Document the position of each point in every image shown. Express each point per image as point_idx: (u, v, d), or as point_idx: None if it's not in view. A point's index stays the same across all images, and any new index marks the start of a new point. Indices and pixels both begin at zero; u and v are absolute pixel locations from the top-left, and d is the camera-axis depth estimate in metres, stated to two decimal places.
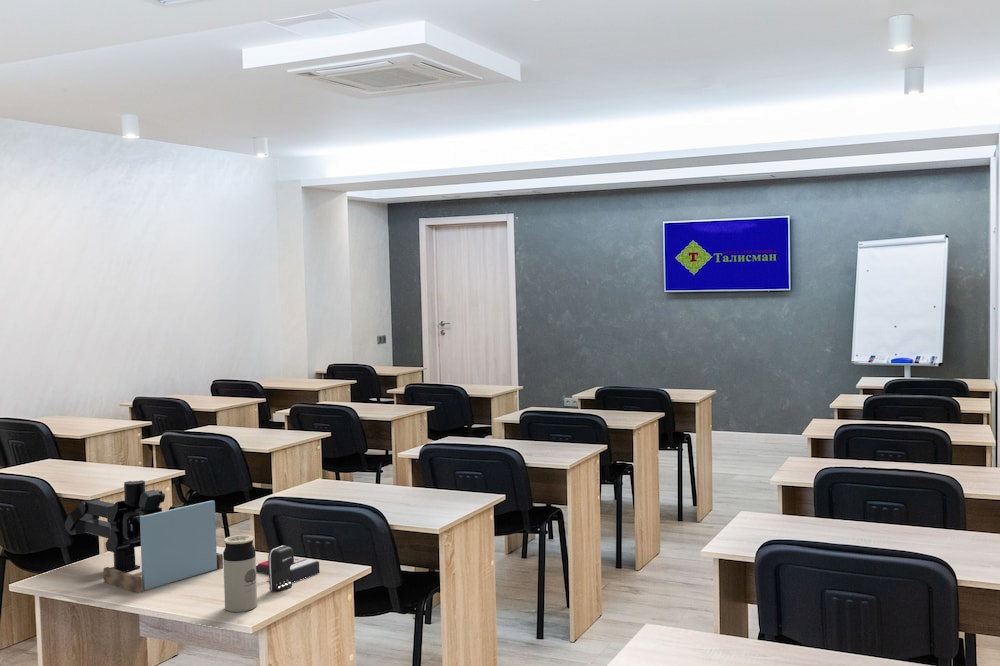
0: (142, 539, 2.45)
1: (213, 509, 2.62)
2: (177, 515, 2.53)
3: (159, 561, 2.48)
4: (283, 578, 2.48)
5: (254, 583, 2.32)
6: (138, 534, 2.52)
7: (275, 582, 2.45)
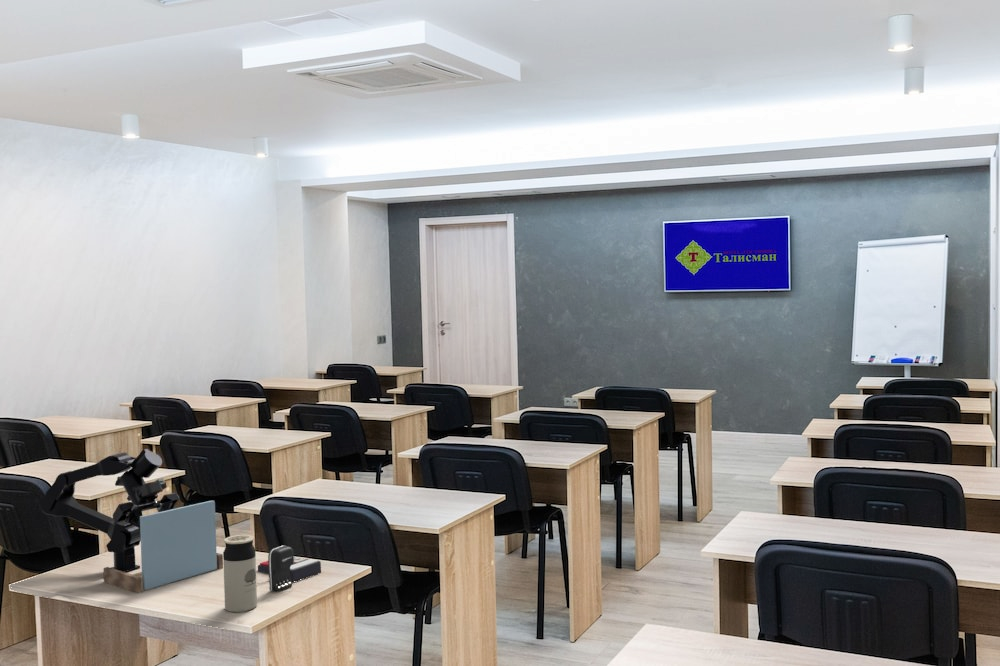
0: (142, 539, 2.45)
1: (213, 509, 2.62)
2: (177, 515, 2.53)
3: (159, 561, 2.48)
4: (283, 578, 2.48)
5: (254, 583, 2.32)
6: (131, 521, 2.59)
7: (275, 582, 2.45)
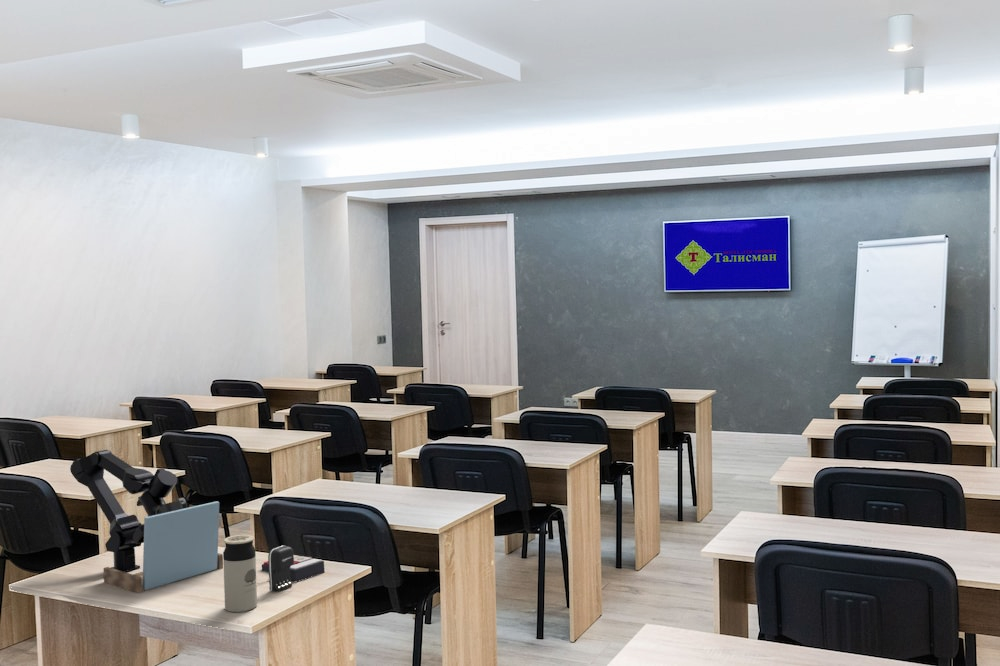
0: (145, 540, 2.44)
1: (217, 510, 2.61)
2: (181, 516, 2.52)
3: (161, 562, 2.48)
4: (283, 578, 2.48)
5: (254, 583, 2.32)
6: None
7: (275, 582, 2.45)
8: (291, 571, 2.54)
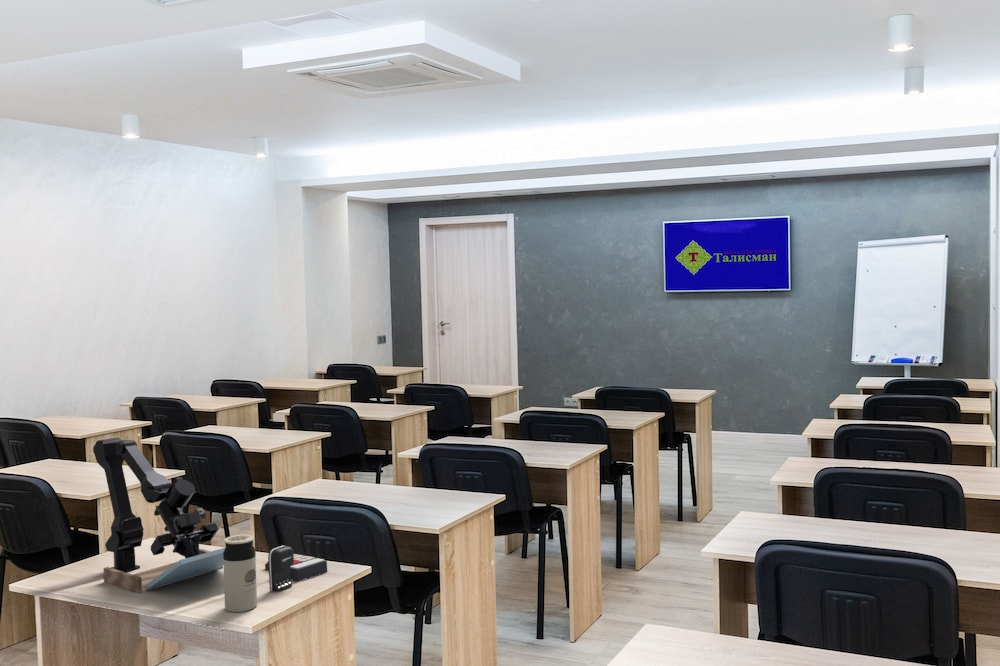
0: (169, 571, 2.38)
1: None
2: (213, 556, 2.44)
3: (172, 577, 2.45)
4: (283, 578, 2.48)
5: (254, 583, 2.32)
6: (178, 550, 2.51)
7: (275, 582, 2.45)
8: (293, 571, 2.55)
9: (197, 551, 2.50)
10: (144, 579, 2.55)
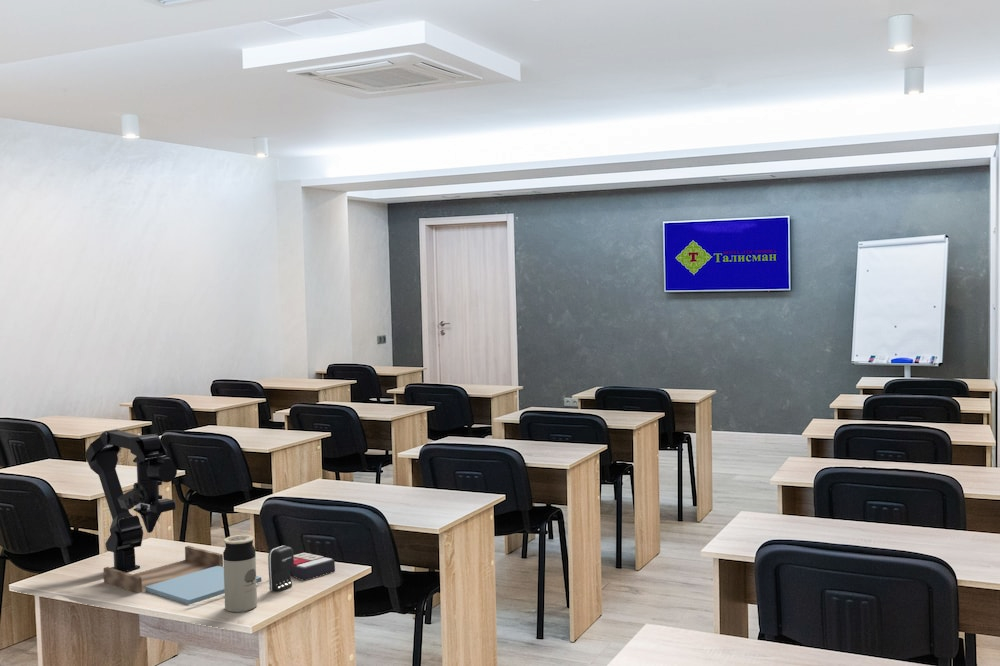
0: (175, 598, 2.37)
1: None
2: None
3: None
4: (283, 578, 2.48)
5: (254, 583, 2.32)
6: None
7: (275, 582, 2.45)
8: (300, 569, 2.56)
9: (147, 523, 2.59)
10: (144, 579, 2.55)
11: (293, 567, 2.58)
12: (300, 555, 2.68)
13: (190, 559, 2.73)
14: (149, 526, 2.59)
